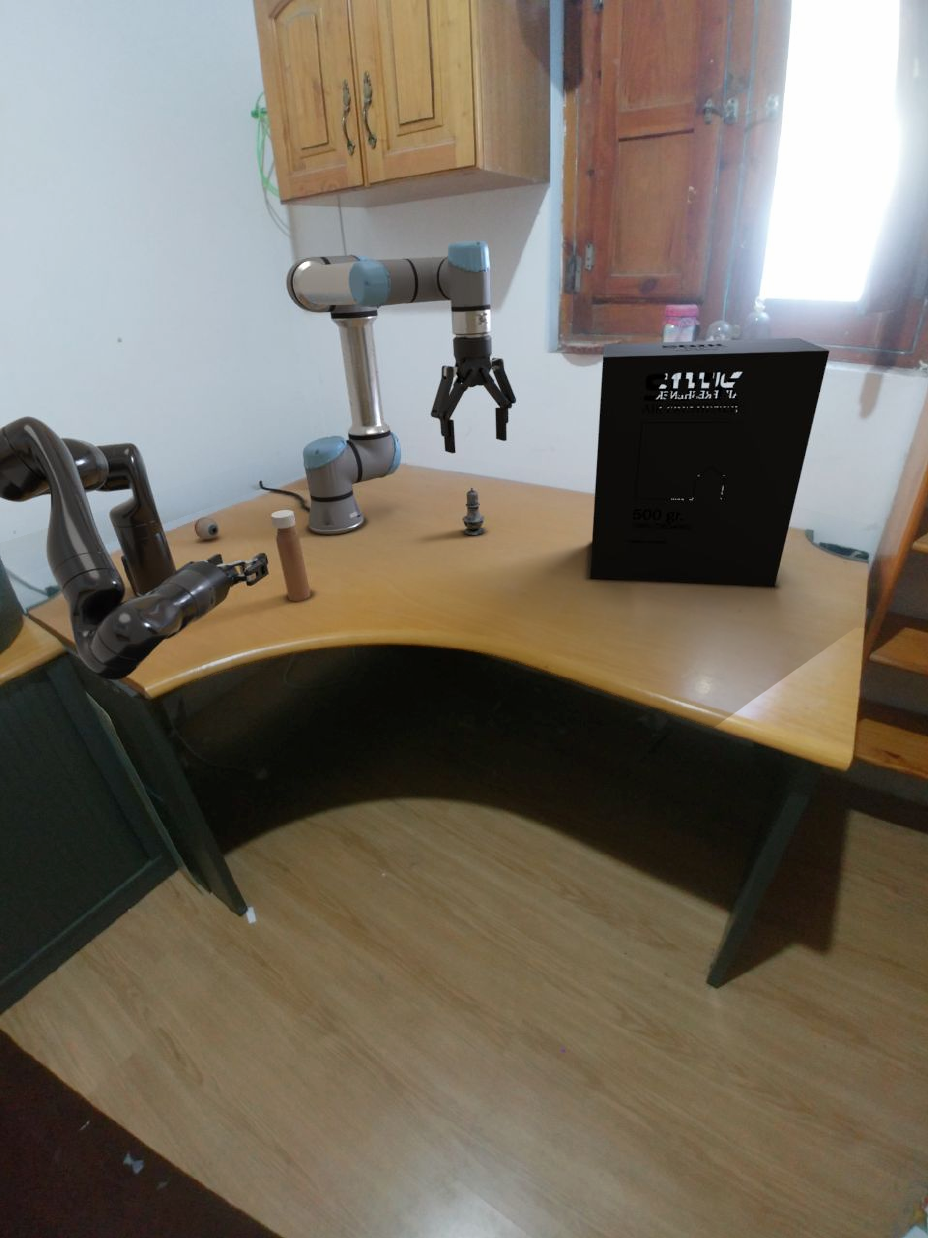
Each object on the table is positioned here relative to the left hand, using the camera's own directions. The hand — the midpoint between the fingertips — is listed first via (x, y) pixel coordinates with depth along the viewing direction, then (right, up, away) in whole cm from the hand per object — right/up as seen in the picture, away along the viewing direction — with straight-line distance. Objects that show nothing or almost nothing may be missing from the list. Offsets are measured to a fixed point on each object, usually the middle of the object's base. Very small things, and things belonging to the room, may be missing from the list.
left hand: (242, 558), depth 107 cm
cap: (+2, +11, +16) cm, 19 cm away
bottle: (+3, -6, +26) cm, 26 cm away
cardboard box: (+88, +2, +30) cm, 93 cm away
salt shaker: (+42, +12, +53) cm, 69 cm away
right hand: (+42, +26, +20) cm, 53 cm away
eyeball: (-30, +11, +58) cm, 66 cm away
